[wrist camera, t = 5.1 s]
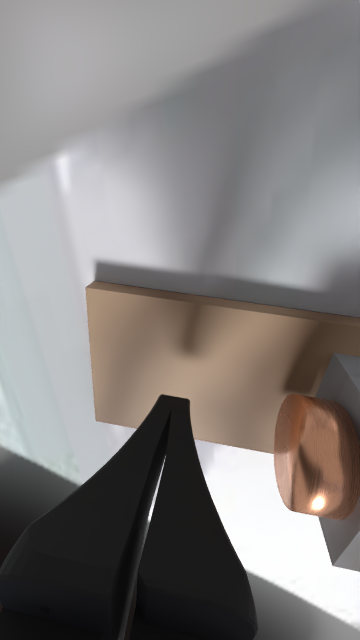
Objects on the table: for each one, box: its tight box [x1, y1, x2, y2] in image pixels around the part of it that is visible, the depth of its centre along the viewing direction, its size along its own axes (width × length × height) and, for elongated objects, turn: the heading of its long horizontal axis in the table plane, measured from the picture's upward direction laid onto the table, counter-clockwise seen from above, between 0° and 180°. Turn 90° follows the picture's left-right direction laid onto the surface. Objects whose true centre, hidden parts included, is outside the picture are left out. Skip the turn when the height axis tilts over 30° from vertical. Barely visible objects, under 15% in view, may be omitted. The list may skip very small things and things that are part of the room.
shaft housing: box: [86, 281, 360, 572], centre depth 12 cm, size 20×9×7 cm, turn 85°
